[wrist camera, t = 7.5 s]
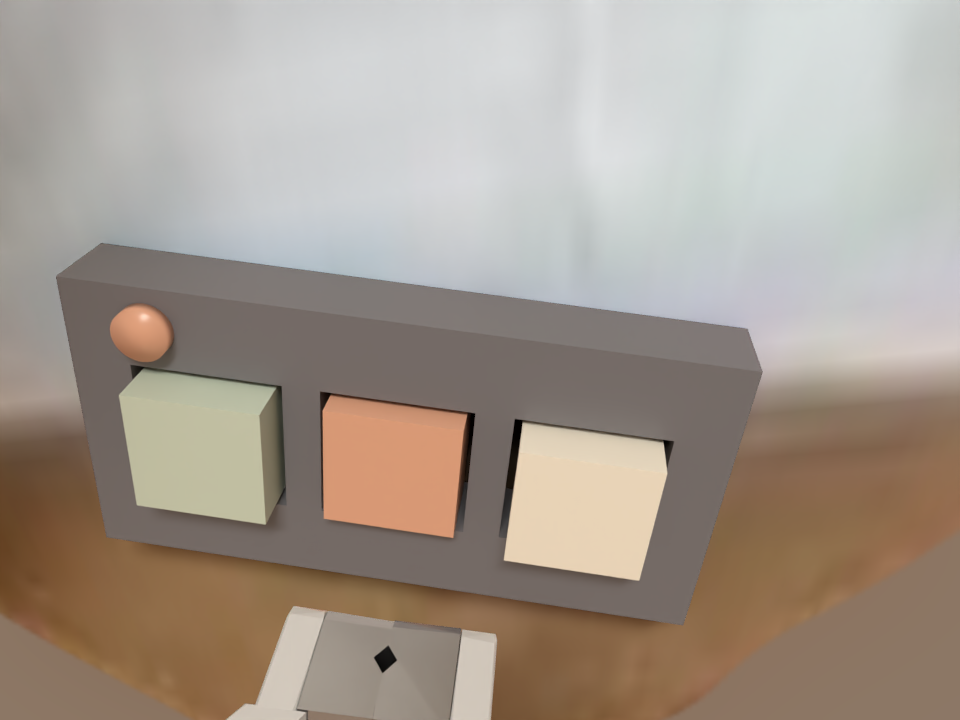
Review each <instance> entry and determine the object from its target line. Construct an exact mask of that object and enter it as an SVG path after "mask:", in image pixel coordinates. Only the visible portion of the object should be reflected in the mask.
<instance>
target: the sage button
mask: <svg viewBox="0 0 960 720" xmlns="http://www.w3.org/2000/svg"><path fill="white" fill-rule="evenodd" d="M119 399H120V405H121V412H122V418H123V424H124V430H125V436H126V442H127V448H128V454H129V460H130V466H131V473H132V479H133V485H134V491H135V497H136V503H137V505H138V506H145V507H152V508H158V509H165V510H172V511H178V512H185V513H192V514H198V515H205V516H212V517H218V518H225V519H232V520H238V521H245V522H251V523H258V524H265V525H266V523H267V521H268V519H269V517H270V515H271V513H272V511H273V509H274V507H275V505H276V503H277V502H278V500H279V498H280V496H281V494H282V492H283V490H284V488H285V486H286V479H285V455H284V431H283V407H282V386H278V385H271V384H264V383H257V382H250V381H242V380H235V379H228V378H221V377H214V376H207V375H200V374H193V373H186V372H178V371H171V370H164V369H157V368H150V367H144V368H143V369H142V370H141V372H140V373H139V374H138V375H137V376H136V377H135V378H134V379H133V380H132V381H131V382H130V384H129V385H128V386H127V387H126V388H125V389H124V390H123V391H122V392H121V393H120V394H119Z"/></svg>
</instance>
